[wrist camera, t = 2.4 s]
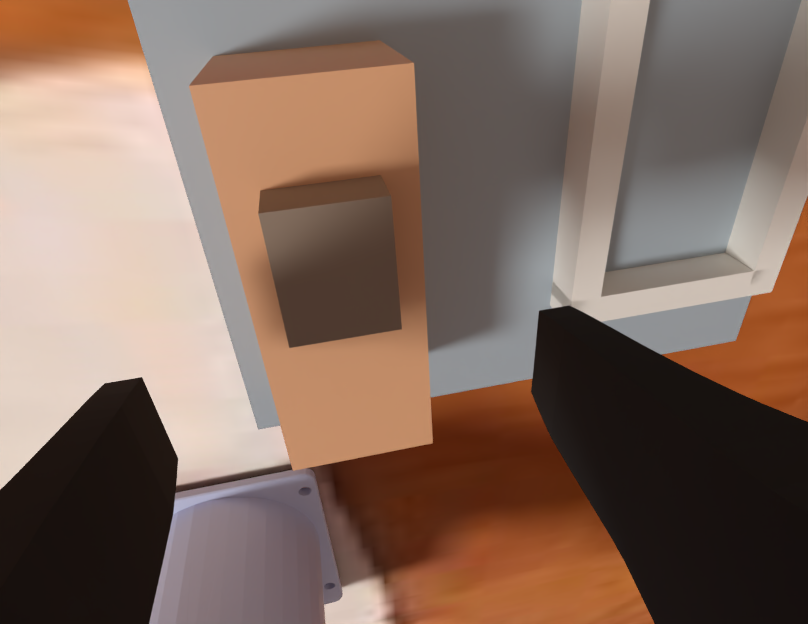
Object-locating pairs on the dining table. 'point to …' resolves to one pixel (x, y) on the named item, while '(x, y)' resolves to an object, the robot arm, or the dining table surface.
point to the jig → (544, 160)
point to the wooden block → (327, 238)
